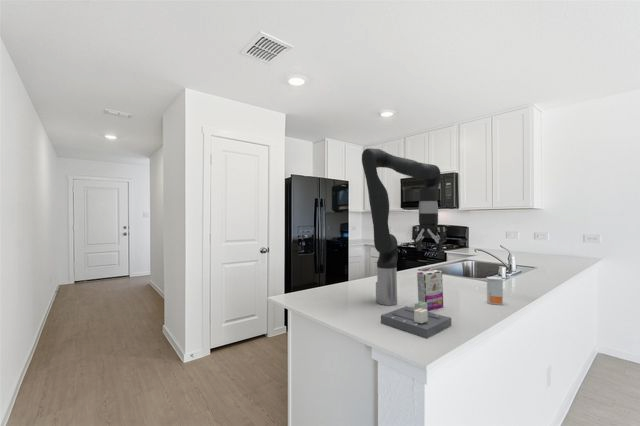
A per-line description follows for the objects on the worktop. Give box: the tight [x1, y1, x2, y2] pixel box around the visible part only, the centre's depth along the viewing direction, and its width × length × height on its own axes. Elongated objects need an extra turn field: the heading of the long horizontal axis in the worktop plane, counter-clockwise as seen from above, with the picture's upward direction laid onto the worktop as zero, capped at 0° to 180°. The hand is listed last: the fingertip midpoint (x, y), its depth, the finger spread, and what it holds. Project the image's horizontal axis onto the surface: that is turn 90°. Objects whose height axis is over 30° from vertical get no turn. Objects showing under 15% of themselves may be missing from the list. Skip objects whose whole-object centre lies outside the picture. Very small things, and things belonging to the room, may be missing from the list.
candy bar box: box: [416, 269, 444, 311], centre depth 136 cm, size 11×5×16 cm, turn 118°
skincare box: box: [486, 276, 504, 306], centre depth 141 cm, size 6×4×12 cm
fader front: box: [414, 308, 429, 324], centre depth 110 cm, size 3×4×4 cm
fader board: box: [380, 306, 452, 339], centre depth 116 cm, size 20×17×3 cm
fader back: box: [414, 301, 427, 310], centre depth 119 cm, size 3×4×4 cm
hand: (428, 251), depth 124 cm, fingers open, 8 cm apart
